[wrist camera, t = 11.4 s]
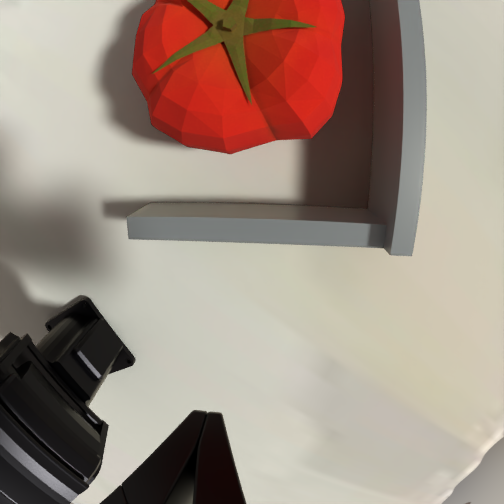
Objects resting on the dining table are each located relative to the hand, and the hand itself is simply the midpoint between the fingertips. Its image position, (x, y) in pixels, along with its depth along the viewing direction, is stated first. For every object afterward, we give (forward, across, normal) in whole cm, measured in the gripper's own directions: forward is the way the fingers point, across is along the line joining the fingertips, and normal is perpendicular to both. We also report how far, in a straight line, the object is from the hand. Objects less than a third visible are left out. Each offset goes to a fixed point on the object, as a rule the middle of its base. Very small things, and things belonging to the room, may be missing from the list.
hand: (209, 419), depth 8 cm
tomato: (+12, 0, -12) cm, 17 cm away
